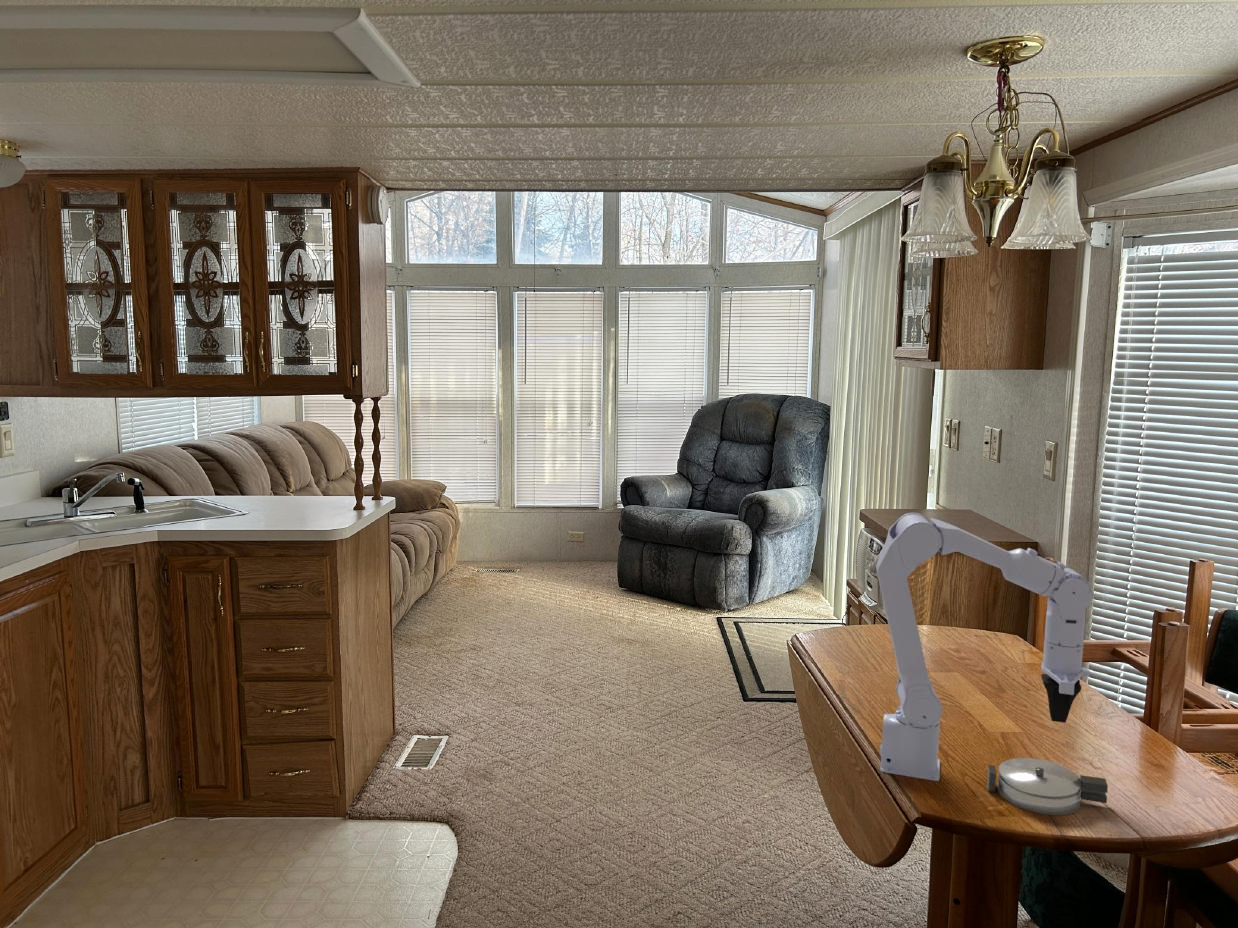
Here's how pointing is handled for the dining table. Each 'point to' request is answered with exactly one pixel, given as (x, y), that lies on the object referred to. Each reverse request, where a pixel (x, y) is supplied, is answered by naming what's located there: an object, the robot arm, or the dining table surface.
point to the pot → (1042, 798)
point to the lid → (1046, 778)
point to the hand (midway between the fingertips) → (1058, 720)
